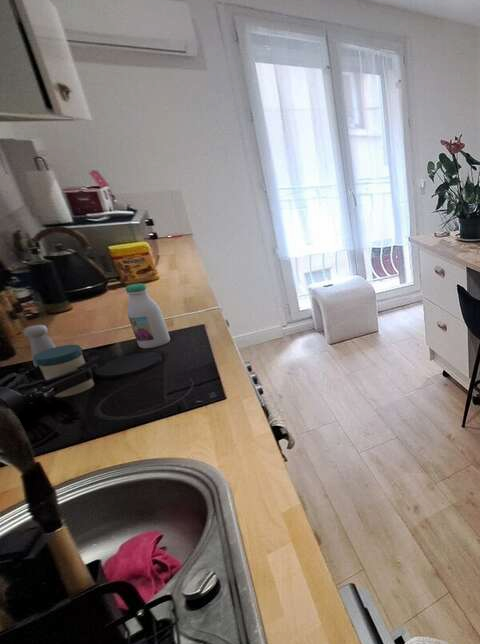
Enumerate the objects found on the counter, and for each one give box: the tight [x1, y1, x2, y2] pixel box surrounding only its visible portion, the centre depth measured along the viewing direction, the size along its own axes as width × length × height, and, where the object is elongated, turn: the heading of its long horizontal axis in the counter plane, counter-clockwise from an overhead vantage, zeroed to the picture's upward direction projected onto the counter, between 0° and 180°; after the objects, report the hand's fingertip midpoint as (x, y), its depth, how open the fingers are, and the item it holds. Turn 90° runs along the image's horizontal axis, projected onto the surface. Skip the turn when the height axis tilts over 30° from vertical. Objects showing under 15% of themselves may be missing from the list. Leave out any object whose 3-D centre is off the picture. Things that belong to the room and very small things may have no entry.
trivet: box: [94, 351, 163, 380], centre depth 118 cm, size 14×14×1 cm
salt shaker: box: [22, 324, 57, 367], centre depth 115 cm, size 6×6×13 cm
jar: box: [38, 354, 95, 398], centre depth 105 cm, size 8×8×10 cm
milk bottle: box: [124, 283, 171, 349], centre depth 129 cm, size 8×8×20 cm
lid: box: [32, 344, 84, 366], centre depth 103 cm, size 8×8×2 cm
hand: (79, 361), depth 109 cm, fingers open, 10 cm apart
